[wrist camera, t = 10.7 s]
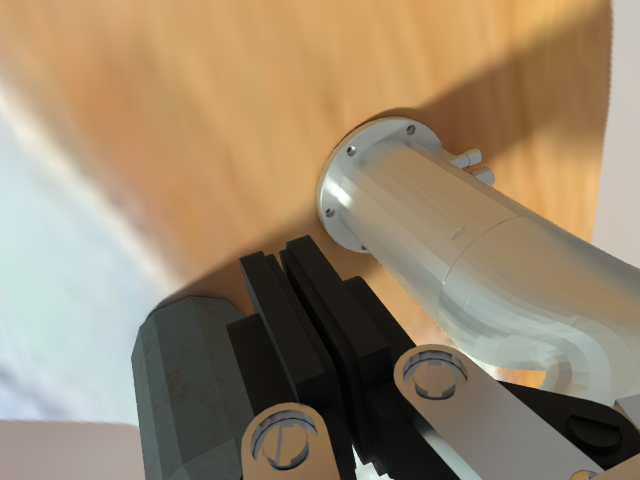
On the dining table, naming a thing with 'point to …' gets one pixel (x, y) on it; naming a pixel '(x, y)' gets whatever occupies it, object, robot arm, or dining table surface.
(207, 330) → the bottle
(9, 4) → the dining table surface
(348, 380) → the robot arm
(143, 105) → the dining table surface
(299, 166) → the dining table surface
